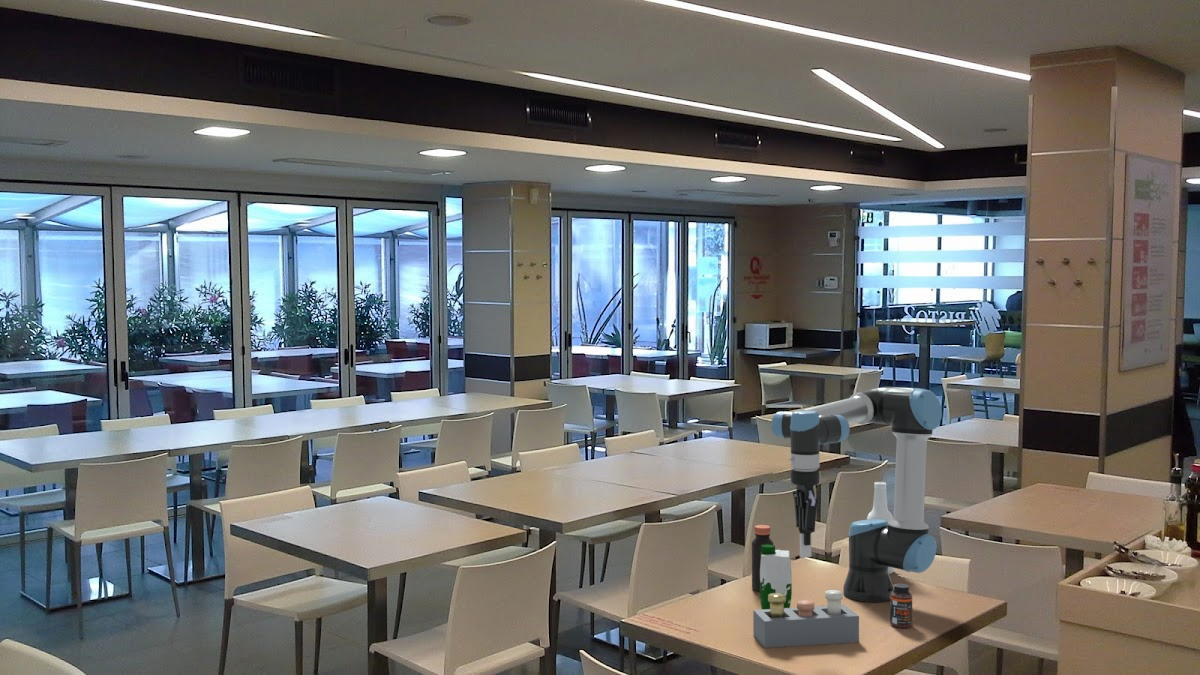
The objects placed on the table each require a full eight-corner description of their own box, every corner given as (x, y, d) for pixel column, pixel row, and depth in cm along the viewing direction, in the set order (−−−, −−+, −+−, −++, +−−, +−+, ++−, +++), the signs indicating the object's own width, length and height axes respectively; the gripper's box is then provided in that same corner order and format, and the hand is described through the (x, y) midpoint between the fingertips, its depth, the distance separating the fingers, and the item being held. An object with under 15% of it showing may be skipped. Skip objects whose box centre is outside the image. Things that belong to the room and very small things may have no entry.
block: (844, 629, 277) (844, 604, 277) (859, 641, 267) (859, 615, 267) (753, 635, 273) (753, 610, 273) (764, 647, 263) (764, 621, 263)
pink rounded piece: (810, 626, 273) (810, 599, 273) (816, 632, 268) (816, 604, 268) (794, 627, 272) (794, 600, 272) (800, 633, 268) (800, 605, 267)
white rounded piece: (838, 616, 274) (838, 589, 274) (845, 621, 269) (845, 594, 269) (822, 617, 273) (822, 590, 273) (829, 622, 269) (828, 595, 268)
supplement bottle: (896, 629, 277) (896, 588, 277) (886, 622, 283) (886, 583, 283) (916, 628, 278) (916, 587, 278) (905, 621, 284) (905, 581, 284)
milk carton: (760, 608, 297) (760, 541, 296) (791, 610, 295) (791, 542, 295) (759, 618, 288) (759, 548, 288) (791, 619, 287) (791, 550, 286)
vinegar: (751, 591, 315) (750, 528, 314) (752, 586, 321) (752, 523, 321) (773, 593, 313) (772, 529, 312) (774, 587, 320) (773, 524, 319)
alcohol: (878, 576, 331) (878, 486, 330) (861, 570, 339) (861, 481, 338) (899, 573, 334) (899, 483, 334) (881, 567, 342) (881, 479, 341)
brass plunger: (782, 619, 272) (782, 592, 271) (788, 624, 267) (787, 597, 267) (766, 620, 271) (765, 593, 271) (771, 625, 266) (771, 598, 266)
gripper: (783, 465, 275) (784, 551, 276) (799, 473, 262) (800, 563, 263) (809, 464, 276) (810, 549, 277) (827, 472, 263) (827, 561, 264)
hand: (805, 556), depth 270 cm, fingers closed
